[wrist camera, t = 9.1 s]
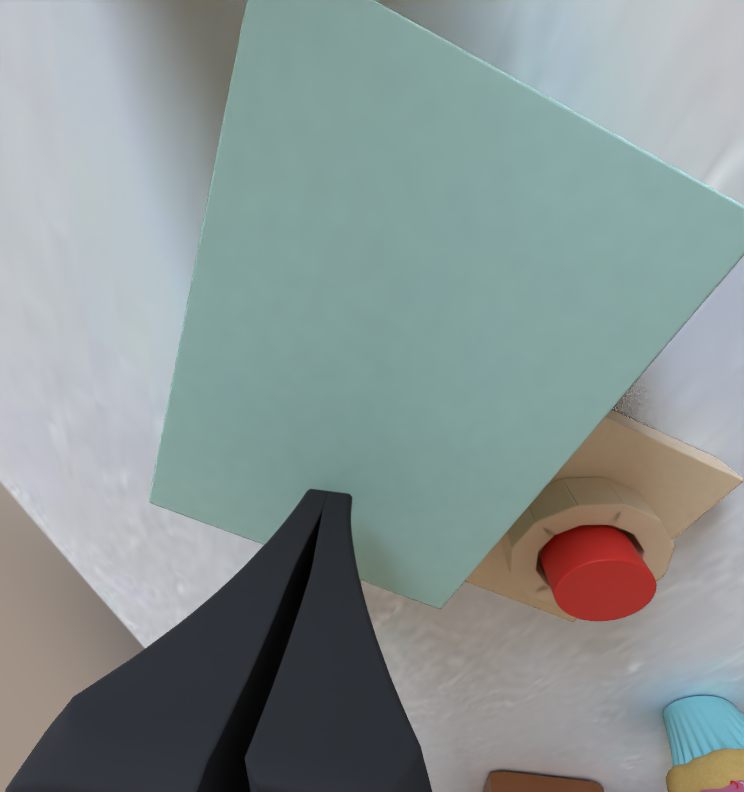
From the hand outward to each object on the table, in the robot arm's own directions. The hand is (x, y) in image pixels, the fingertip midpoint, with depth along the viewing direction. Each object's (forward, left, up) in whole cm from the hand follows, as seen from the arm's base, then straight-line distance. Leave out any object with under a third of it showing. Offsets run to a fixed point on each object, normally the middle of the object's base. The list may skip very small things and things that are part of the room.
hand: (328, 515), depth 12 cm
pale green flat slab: (0, -4, -2) cm, 4 cm away
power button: (-13, +1, -4) cm, 13 cm away
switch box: (-12, +1, -8) cm, 15 cm away
